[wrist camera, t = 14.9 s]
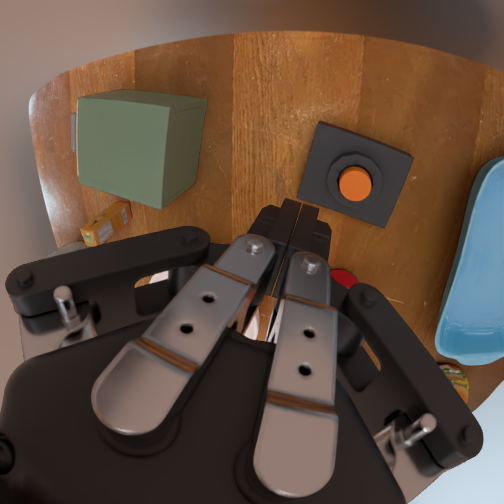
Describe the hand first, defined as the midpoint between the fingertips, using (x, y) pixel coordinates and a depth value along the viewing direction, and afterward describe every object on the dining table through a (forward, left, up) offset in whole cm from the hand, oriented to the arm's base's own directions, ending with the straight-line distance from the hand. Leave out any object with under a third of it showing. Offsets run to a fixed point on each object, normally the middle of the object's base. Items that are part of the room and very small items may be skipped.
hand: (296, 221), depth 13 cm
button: (+4, +5, -22) cm, 23 cm away
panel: (+4, +5, -26) cm, 27 cm away
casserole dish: (+6, +32, -26) cm, 41 cm away
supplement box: (+21, -29, -26) cm, 45 cm away
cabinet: (+6, -23, -26) cm, 35 cm away
